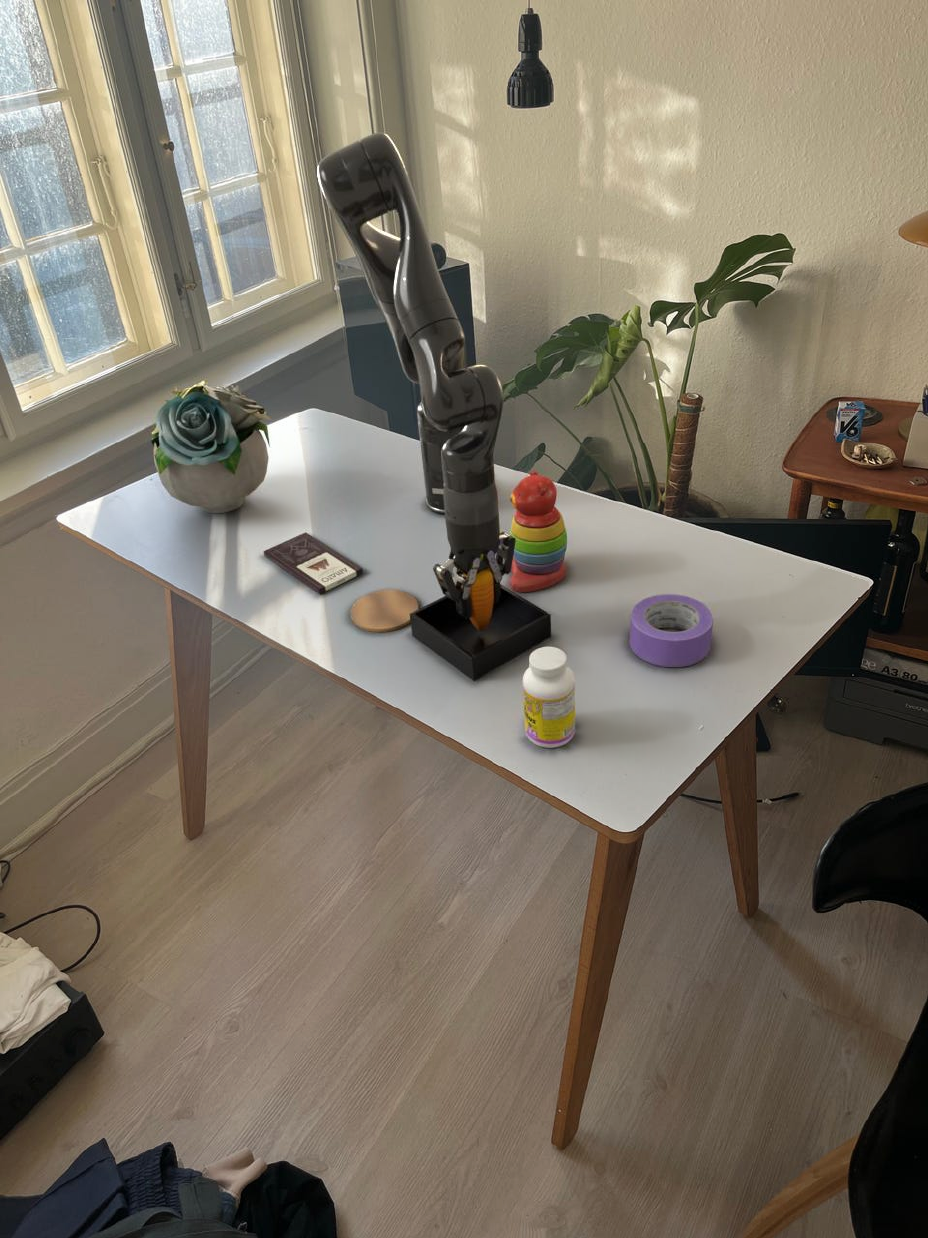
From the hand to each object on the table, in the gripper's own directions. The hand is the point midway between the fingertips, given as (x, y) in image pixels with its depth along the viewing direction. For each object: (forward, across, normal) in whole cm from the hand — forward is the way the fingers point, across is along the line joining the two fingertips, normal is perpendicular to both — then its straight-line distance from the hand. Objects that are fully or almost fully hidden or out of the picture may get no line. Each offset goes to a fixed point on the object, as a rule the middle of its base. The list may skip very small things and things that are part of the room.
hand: (479, 608), depth 138 cm
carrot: (+5, 0, 0) cm, 5 cm away
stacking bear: (+5, +18, +7) cm, 20 cm away
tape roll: (+5, +19, -21) cm, 29 cm away
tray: (+5, 0, 0) cm, 5 cm away
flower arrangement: (+6, -9, +70) cm, 71 cm away
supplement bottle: (+5, -7, -23) cm, 25 cm away
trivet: (+5, -7, +16) cm, 18 cm away
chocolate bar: (+5, -8, +37) cm, 38 cm away
